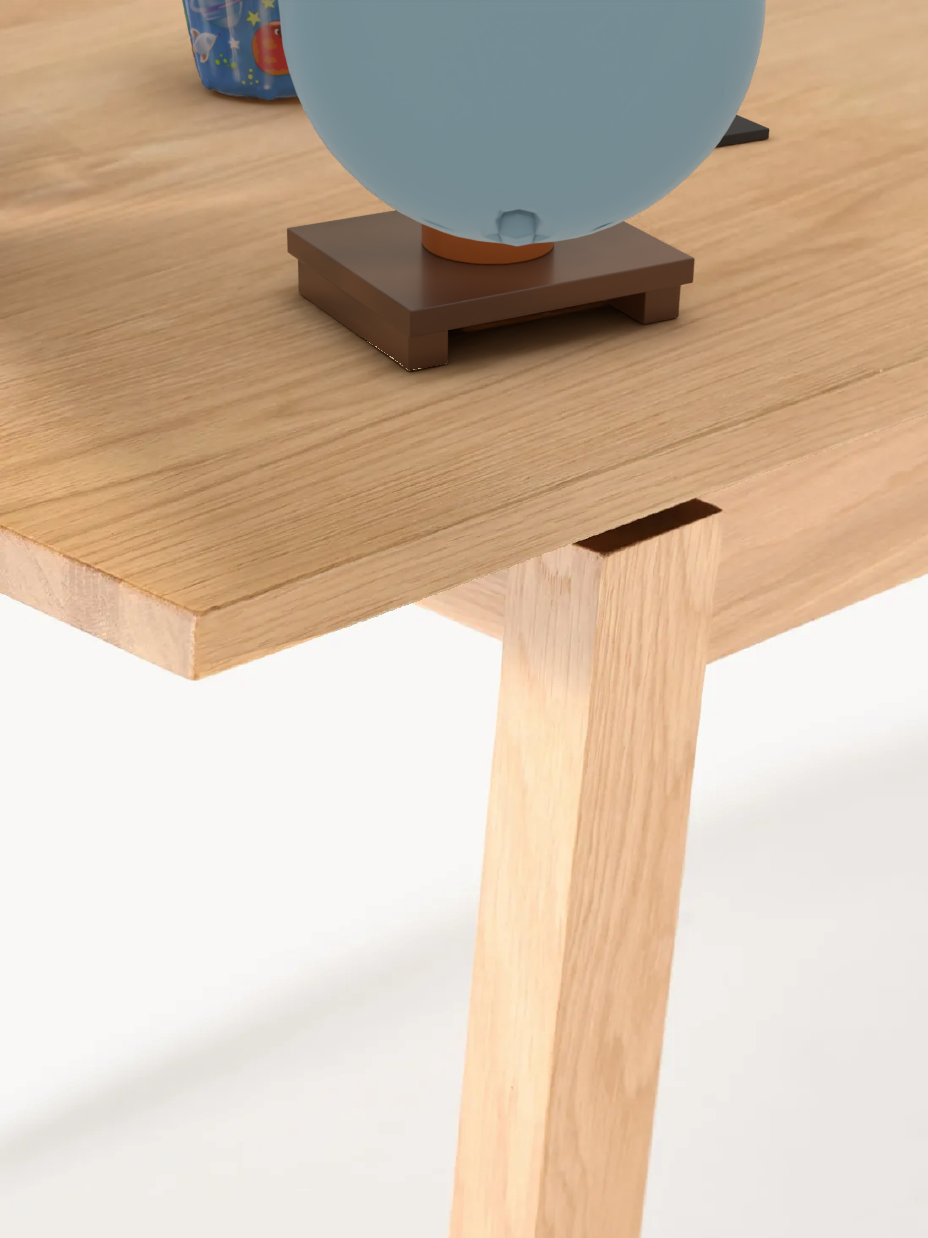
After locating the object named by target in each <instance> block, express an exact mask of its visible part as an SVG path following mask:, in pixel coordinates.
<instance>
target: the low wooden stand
mask: <svg viewBox="0 0 928 1238" xmlns="http://www.w3.org/2000/svg"><path fill="white" fill-rule="evenodd" d="M421 238H422V224H421V223H419V222H417V221H415V220H413V219H411V218H410V217H408V216H406V215H404V214H402V213H400V212H398V211H397V210H395V209H393V210H387V211H383V212H376V213H370V214H364V215H357V216H352V217H346V218H340V219H334V220H328V221H322V222H321V221H320V222H315V223H310V224H303V225H297V226H291V227H287V228H286V244H287V245H286V246H287V247H286V249H287V253H288V254H289V255H290V256H292V257H294V258H295V259H297V279H298V280H297V283H298V284H297V285H298V287H297V289H298V294H299V295H301V296H303V297H304V298H305V299H306V300H308V301H310V302H311V303H312V304H314V305H315V306H317V308H319V309H321V310H322V311H324V312H325V313H326V314H328V315H329V316H330V317H332V318H333V319H334V320H336V321H337V322H339V323H340V324H342V326H344V327H346V328H347V329H348V330H350V331H351V332H352V333H354V334H356V335H357V336H358V337H359V338H361V337H362V338H361V339H363V338H364V339H365V340H367V341H368V342H370V343H371V344H373V345H374V346H377V348H379V349H380V350H382V351H383V352H385V353H386V354H388V356H391V357H393V358H394V360H396V361H398V363H401V365H403V367H404V368H407V369H408V370H413V369H418V368H425V369H429V368H428V367H430V368H434V367H433V366H435V367H439V365H440V364H441V365H440V366H444V364H445V363H447V364H448V360H449V359H448V357H449V355H448V354H449V353H448V352H449V331H451V330H457V329H463V328H467V327H472V326H477V325H483V324H488V323H492V322H498V321H503V320H508V319H514V318H519V317H524V316H529V315H535V314H539V313H545V312H549V311H555V310H560V309H566V308H571V307H575V306H581V305H586V304H591V303H596V302H601V301H602V302H605V303H607V304H608V305H609V306H611V307H613V308H615V309H617V310H618V311H620V312H622V313H624V314H625V315H627V316H628V317H630V318H632V319H634V320H635V321H637V322H638V323H640V324H643V325H647V324H652V323H657V322H663V321H668V320H673V319H677V318H679V316H680V315H679V314H680V304H681V303H680V301H681V286H683V285H684V286H685V285H689V284H693V283H694V274H695V261H696V259H695V257H693V256H691V255H690V254H688V253H686V252H684V251H682V250H680V249H678V248H676V247H674V246H672V245H671V244H669V243H667V242H664V241H663V240H661V239H659V238H657V237H655V236H653V235H651V234H649V233H648V232H645V231H644V230H642V229H640V228H639V227H636V226H635V225H633V224H630V223H628V222H626V220H625V221H623V222H621V223H619V224H616V225H614V226H612V227H609V228H606V229H604V230H601V231H598V232H595V233H593V234H590V235H586V236H582V237H578V238H574V239H568V240H562V241H556V242H554V246H553V248H552V249H551V250H550V251H549V252H548V253H547V254H545V255H543V256H541V257H538V258H536V259H532V260H528V261H524V262H518V263H510V264H472V263H464V262H458V261H453V260H449V259H445V258H442V257H439V256H437V255H435V254H433V253H431V252H429V251H428V250H427V249H426V248H425V247H424V246H423V244H422V240H421ZM364 339H363V340H364ZM365 340H364V341H365ZM367 341H366V342H367ZM368 342H367V343H368ZM370 343H369V344H370ZM371 344H370V345H371ZM374 346H373V347H374ZM388 356H387V357H388ZM445 365H446V364H445ZM403 367H402V368H403ZM404 368H403V369H404Z"/></svg>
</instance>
